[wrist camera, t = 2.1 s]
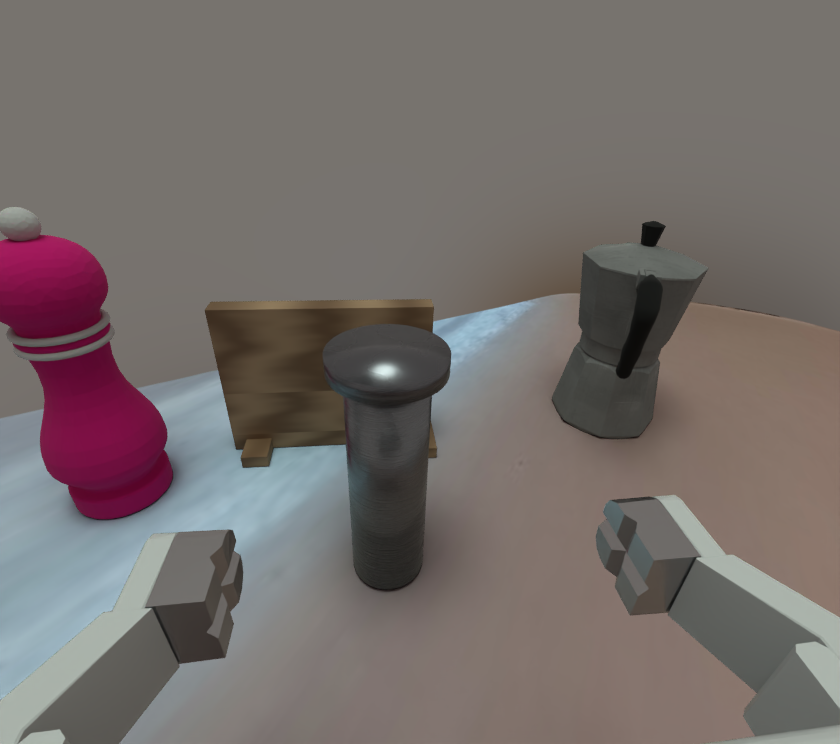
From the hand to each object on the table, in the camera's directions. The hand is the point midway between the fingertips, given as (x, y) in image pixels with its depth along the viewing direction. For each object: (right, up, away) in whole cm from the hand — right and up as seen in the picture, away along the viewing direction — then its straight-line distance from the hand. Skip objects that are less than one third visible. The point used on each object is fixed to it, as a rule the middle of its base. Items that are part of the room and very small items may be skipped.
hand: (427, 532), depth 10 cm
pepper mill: (-22, -5, +24) cm, 33 cm away
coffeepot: (+17, -1, +34) cm, 38 cm away
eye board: (-8, -2, +29) cm, 31 cm away
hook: (-3, -5, +25) cm, 26 cm away
